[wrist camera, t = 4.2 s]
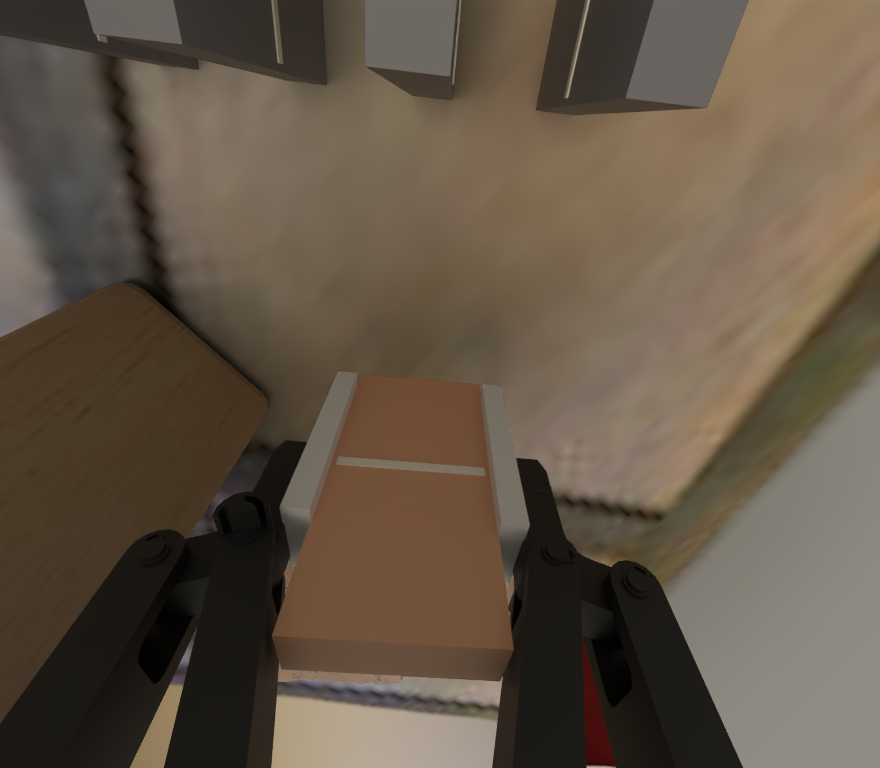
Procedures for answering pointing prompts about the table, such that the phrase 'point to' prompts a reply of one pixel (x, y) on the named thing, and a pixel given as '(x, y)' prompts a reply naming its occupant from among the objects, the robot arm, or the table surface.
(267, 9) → the domino
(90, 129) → the table surface
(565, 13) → the domino
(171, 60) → the domino
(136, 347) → the wooden block
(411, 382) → the head domino
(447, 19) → the domino
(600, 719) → the paper cup
